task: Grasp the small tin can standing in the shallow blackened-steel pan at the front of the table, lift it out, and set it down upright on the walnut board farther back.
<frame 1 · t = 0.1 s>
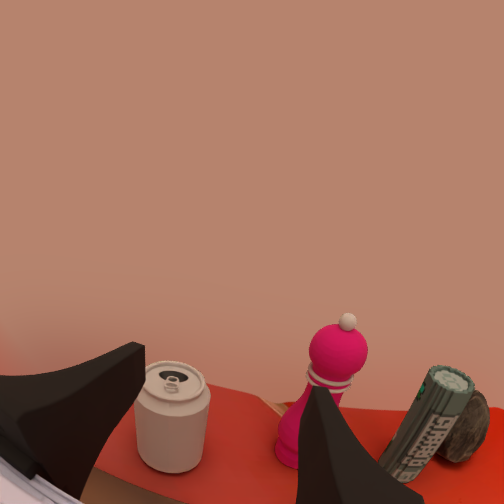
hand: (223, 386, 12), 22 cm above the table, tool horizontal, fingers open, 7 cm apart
can: (169, 454, 28), on the table
rock: (449, 446, 31), on the table
can 2: (397, 468, 28), on the table
pepper mill: (298, 453, 31), on the table
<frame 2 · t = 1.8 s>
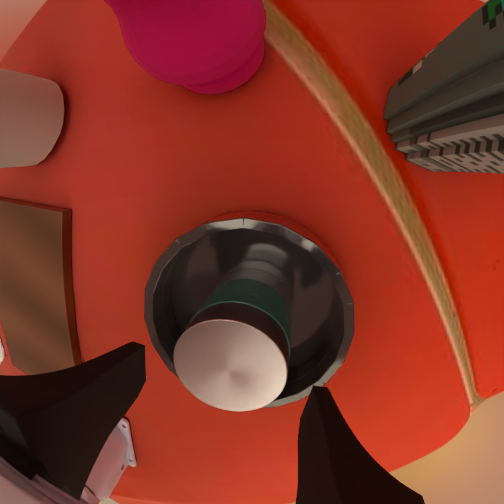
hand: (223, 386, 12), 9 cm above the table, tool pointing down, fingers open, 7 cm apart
board: (33, 303, 23), on the table
tin can: (251, 307, 19), resting on pan
can: (43, 122, 19), on the table
pan: (252, 304, 20), on the table
can 2: (427, 122, 15), on the table
pepper mill: (217, 53, 16), on the table
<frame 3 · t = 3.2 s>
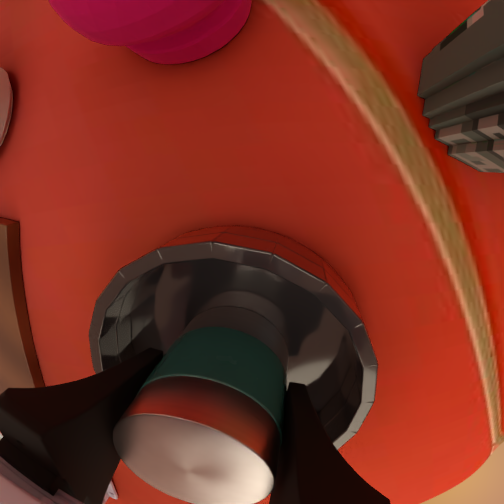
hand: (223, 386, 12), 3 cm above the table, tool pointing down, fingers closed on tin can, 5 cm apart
tin can: (233, 355, 14), point 1 cm above the table, touching gripper, pan
pan: (236, 349, 14), on the table
can 2: (472, 105, 10), on the table
pepper mill: (188, 13, 11), on the table
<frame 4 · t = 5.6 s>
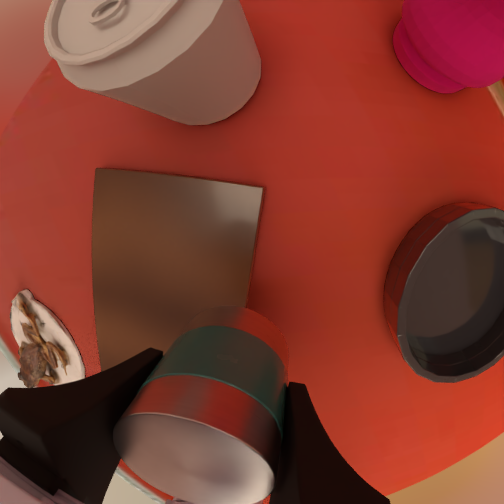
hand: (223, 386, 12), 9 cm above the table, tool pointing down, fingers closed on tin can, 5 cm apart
board: (165, 310, 22), on the table
tin can: (234, 354, 14), point 7 cm above the table, touching gripper
can: (207, 75, 17), on the table
pan: (457, 286, 18), on the table
pepper mill: (431, 54, 14), on the table
frog figurine: (46, 345, 26), on the table
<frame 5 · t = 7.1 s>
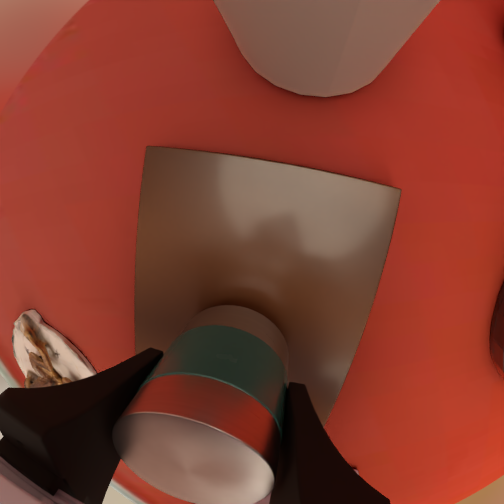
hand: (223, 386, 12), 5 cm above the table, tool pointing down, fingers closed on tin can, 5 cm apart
board: (240, 346, 16), on the table
tin can: (233, 353, 14), point 2 cm above the table, touching gripper
can: (313, 37, 12), on the table
frog figurine: (59, 377, 20), on the table
when the fingers open (4 cm above the table, at t = 8.1 s): tin can stays where it is, resting on board.
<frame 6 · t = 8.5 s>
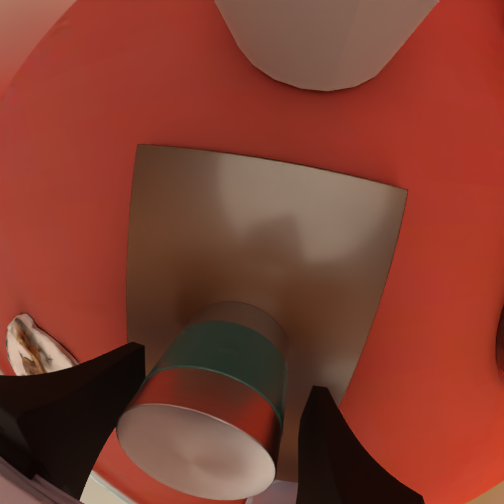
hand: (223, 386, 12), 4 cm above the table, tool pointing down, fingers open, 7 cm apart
board: (237, 354, 16), on the table
tin can: (234, 349, 14), point 1 cm above the table, touching board
can: (314, 29, 11), on the table
frog figurine: (54, 382, 20), on the table
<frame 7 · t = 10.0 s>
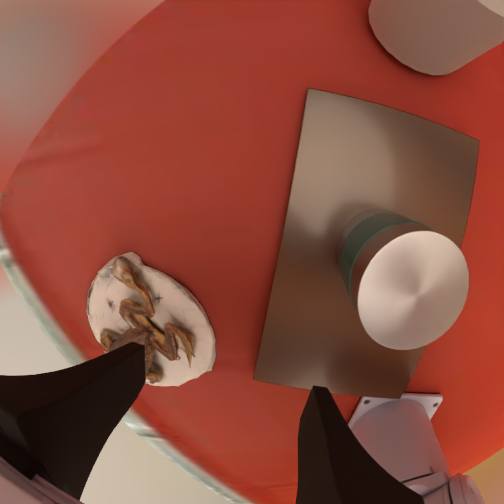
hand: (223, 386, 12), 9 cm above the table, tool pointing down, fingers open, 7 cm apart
board: (369, 263, 19), on the table
tin can: (377, 251, 17), point 1 cm above the table, touching board
can: (414, 33, 14), on the table
frog figurine: (147, 331, 23), on the table
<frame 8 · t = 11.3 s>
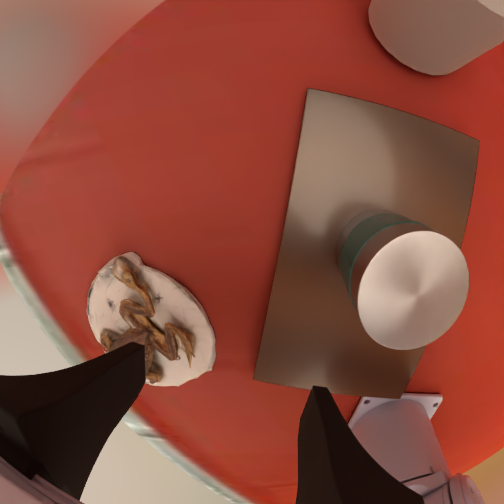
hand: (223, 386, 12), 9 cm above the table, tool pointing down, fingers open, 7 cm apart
board: (369, 263, 19), on the table
tin can: (377, 251, 17), point 1 cm above the table, touching board
can: (414, 33, 14), on the table
frog figurine: (147, 331, 23), on the table
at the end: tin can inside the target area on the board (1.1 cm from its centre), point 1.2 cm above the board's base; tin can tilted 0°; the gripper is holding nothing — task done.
